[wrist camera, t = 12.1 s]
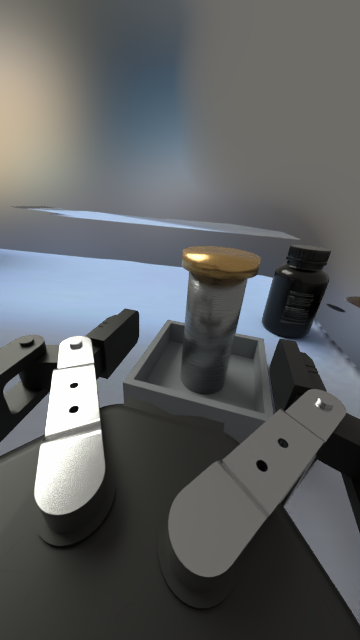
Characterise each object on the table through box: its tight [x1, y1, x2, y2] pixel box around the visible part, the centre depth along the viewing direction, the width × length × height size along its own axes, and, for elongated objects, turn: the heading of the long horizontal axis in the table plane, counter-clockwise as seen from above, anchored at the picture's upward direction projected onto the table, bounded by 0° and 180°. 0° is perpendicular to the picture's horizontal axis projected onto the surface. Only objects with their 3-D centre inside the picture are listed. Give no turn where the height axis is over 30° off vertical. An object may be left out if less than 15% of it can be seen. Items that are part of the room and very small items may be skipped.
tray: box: [123, 320, 274, 444], centre depth 21 cm, size 11×11×3 cm
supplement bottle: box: [262, 245, 331, 338], centre depth 31 cm, size 7×7×12 cm
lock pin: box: [180, 246, 261, 395], centre depth 19 cm, size 6×6×12 cm
